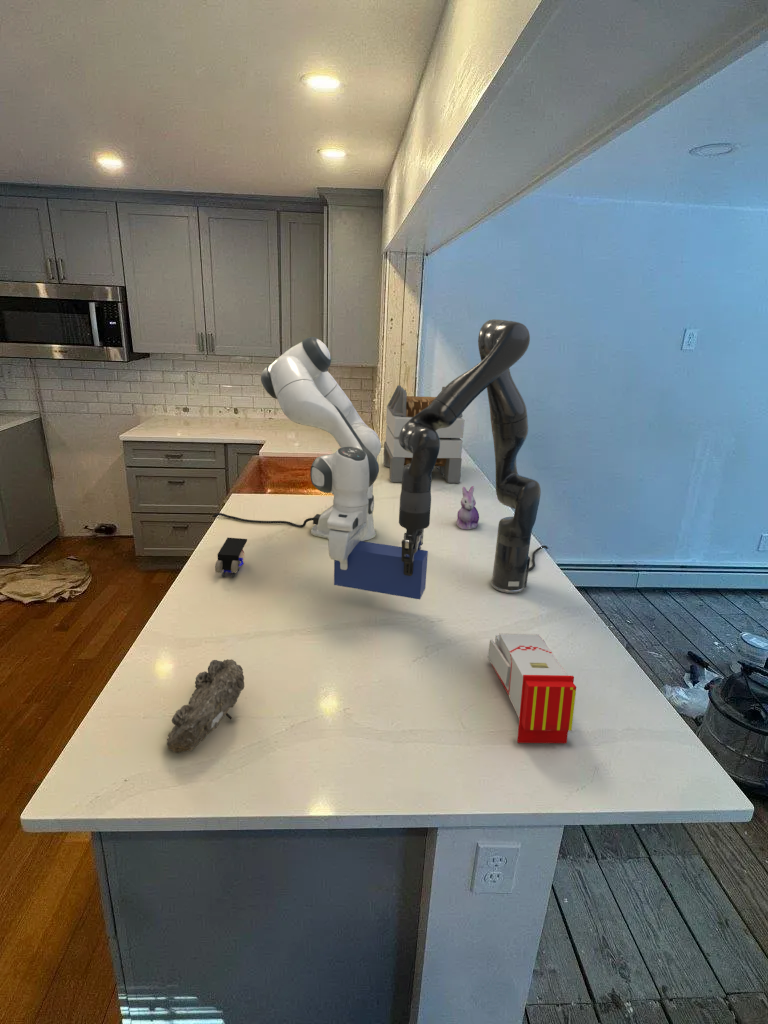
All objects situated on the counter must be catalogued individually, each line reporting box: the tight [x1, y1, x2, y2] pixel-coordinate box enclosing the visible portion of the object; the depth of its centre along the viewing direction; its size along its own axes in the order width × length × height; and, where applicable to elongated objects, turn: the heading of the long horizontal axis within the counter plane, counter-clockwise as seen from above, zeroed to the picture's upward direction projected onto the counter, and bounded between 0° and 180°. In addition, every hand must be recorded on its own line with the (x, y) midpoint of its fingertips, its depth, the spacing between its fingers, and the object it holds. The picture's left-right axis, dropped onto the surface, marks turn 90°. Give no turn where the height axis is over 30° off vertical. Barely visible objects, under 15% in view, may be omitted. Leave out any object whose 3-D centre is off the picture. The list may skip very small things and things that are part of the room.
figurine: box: [456, 485, 480, 530], centre depth 208 cm, size 9×10×15 cm
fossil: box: [166, 658, 245, 754], centre depth 106 cm, size 22×10×15 cm
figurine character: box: [214, 537, 248, 578], centre depth 166 cm, size 7×8×15 cm
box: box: [333, 540, 429, 600], centre depth 145 cm, size 23×6×11 cm, turn 74°
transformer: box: [383, 384, 465, 484], centre depth 268 cm, size 34×33×41 cm
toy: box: [487, 632, 577, 744], centre depth 116 cm, size 12×13×30 cm
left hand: (349, 562), depth 147 cm, fingers closed on box, 6 cm apart
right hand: (411, 569), depth 143 cm, fingers closed on box, 6 cm apart
